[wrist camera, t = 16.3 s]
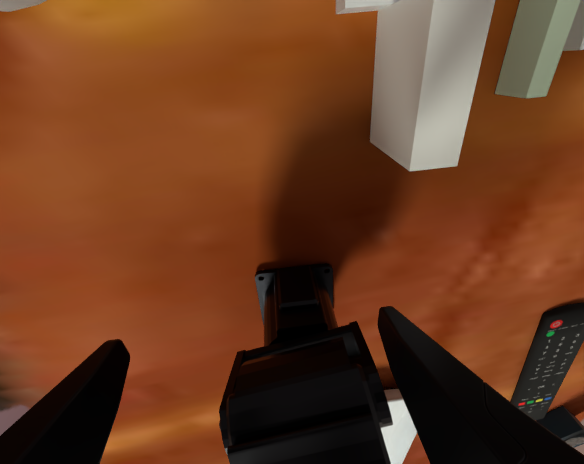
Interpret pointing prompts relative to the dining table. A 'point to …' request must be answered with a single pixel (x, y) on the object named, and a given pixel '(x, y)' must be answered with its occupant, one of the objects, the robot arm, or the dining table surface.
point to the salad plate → (398, 428)
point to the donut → (18, 4)
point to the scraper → (424, 75)
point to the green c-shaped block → (535, 47)
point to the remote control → (549, 359)
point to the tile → (576, 31)
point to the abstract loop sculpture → (564, 426)
